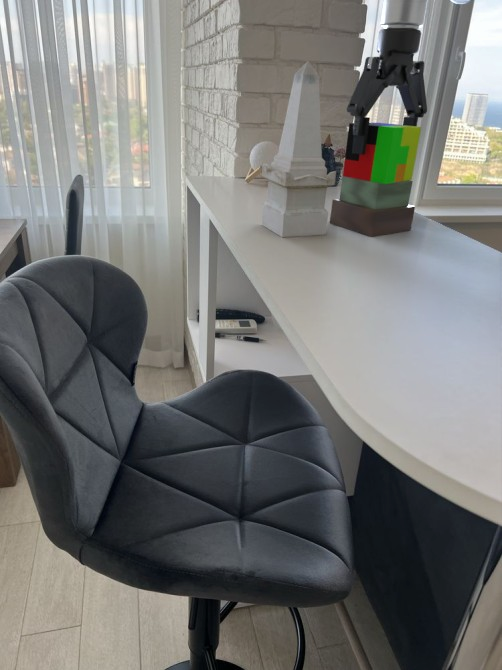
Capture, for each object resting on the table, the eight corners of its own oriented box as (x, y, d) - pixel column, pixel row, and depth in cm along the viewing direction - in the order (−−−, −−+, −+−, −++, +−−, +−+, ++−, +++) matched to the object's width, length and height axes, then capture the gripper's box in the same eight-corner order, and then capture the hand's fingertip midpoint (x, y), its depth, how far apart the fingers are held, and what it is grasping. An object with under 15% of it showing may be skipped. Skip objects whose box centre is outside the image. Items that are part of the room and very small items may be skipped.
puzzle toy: (370, 172, 109) (377, 122, 105) (411, 179, 103) (421, 127, 98) (342, 176, 103) (349, 123, 98) (385, 184, 97) (394, 127, 92)
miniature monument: (328, 234, 99) (349, 62, 86) (280, 238, 96) (295, 58, 82) (303, 221, 108) (319, 63, 95) (259, 224, 104) (268, 59, 91)
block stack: (410, 230, 106) (420, 181, 102) (371, 236, 100) (379, 184, 95) (368, 217, 115) (375, 172, 110) (329, 223, 108) (335, 174, 104)
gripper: (427, 35, 101) (408, 148, 110) (335, 23, 87) (323, 152, 97) (460, 34, 95) (437, 152, 104) (368, 20, 82) (351, 157, 91)
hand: (382, 152), depth 101 cm, fingers open, 13 cm apart
